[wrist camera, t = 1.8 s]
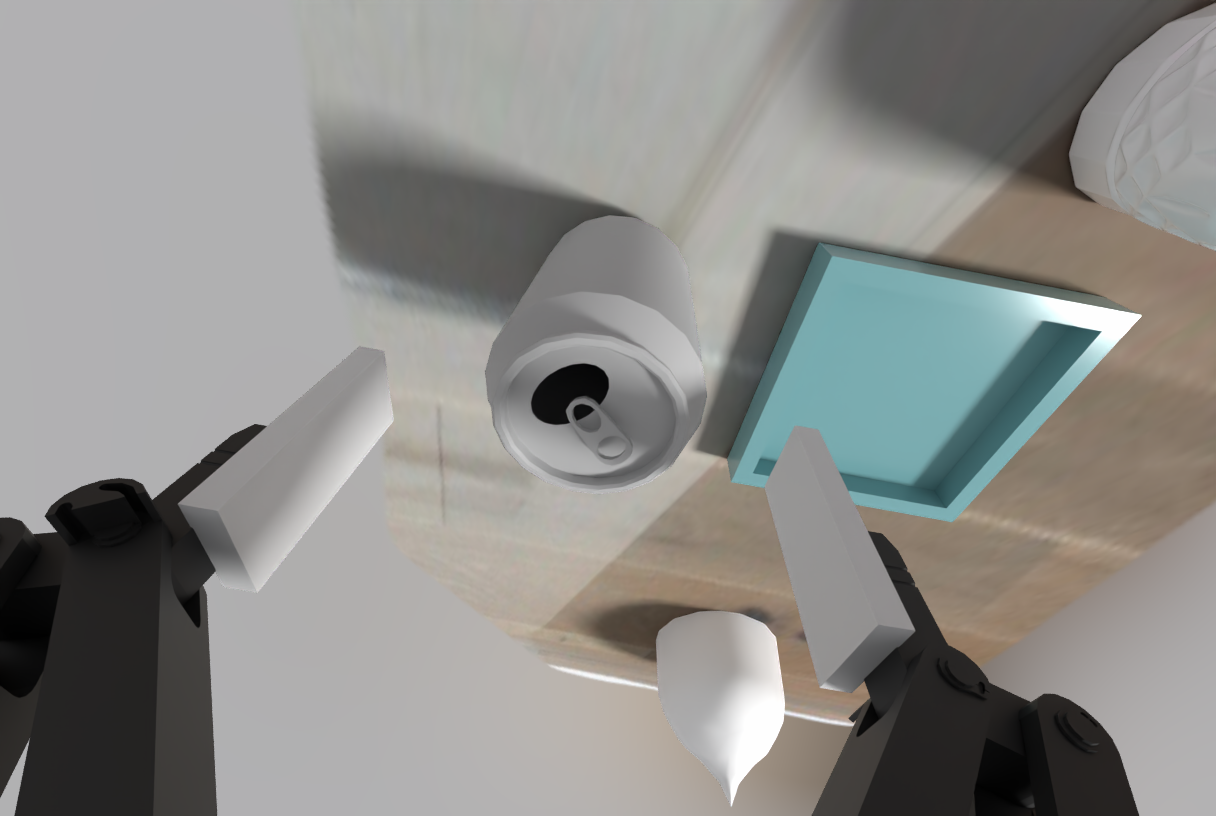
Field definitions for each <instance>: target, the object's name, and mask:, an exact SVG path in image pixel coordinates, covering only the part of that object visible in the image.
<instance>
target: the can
mask: <svg viewBox="0 0 1216 816" xmlns="http://www.w3.org/2000/svg"><path fill="white" fill-rule="evenodd" d="M485 375H486V385H487V395H488V401H489V403H490V405H491V408H492V418H493V426H494V428H495V430H496V432H497V434H498V436H499V438H500V440H501V442H502V444H503V446H504V448H505V449H506V450H507V451H508V452H509V454H510V455H511V456H512V457H513V458H514V459H515V460H516V461H517V462H518V463H519V464H520V465H521V466H522V467H523V468H524V469H526V470H527V471H529V472H530V473H532V474H534V475H535V476H537V477H538V478H540V479H541V480H543V481H545V482H547V483H550V484H553V485H556V486H558V487H561V488H564V489H567V490H570V491H575V492H584V493H593V494H605V493H614V492H624V491H628V490H631V489H633V488H636V487H639V486H641V485H644V484H647V483H649V482H651V481H653V480H654V479H655V478H657V477H658V476H659V475H661V474H662V473H663V472H665V471H666V470H667V469H669V468H670V467H671V466H672V465H673V463H674V462H675V460H676V459H677V457H678V456H679V454H680V453H681V451H682V450H683V448H684V447H685V446H686V444H687V443H688V441H689V440H690V438H691V437H692V435H693V434H694V432H695V431H696V430H697V428H698V427H699V425H700V424H701V419H702V415H703V411H704V407H705V402H706V398H707V391H706V384H705V378H704V371H703V365H702V358H701V351H700V345H699V338H698V332H697V325H696V319H695V312H694V305H693V299H692V292H691V286H690V279H689V272H688V267H687V265H686V263H685V261H684V259H683V257H682V255H681V253H680V251H679V249H678V247H677V246H676V245H675V244H674V243H673V242H672V241H671V240H670V239H669V238H668V237H667V236H666V235H665V234H664V233H663V232H662V231H661V230H660V229H659V228H657V227H654V226H652V225H650V224H648V223H646V222H643V221H641V220H639V219H637V218H634V217H623V216H613V215H608V216H604V217H600V218H596V219H592V220H588V221H584V222H583V223H581V224H580V225H578V226H577V227H575V228H574V229H572V230H571V231H569V232H568V233H566V234H564V236H563V237H562V238H561V240H560V241H559V242H558V244H557V245H556V246H555V248H554V249H553V250H552V251H551V253H550V254H549V256H548V257H547V259H546V261H545V262H544V264H543V265H542V267H541V268H540V270H539V272H538V273H537V275H536V276H535V278H534V279H533V281H532V283H531V284H530V286H529V287H528V289H527V290H526V292H525V294H524V295H523V297H522V298H521V300H520V301H519V303H518V305H517V306H516V308H515V309H514V311H513V312H512V314H511V316H510V317H509V319H508V320H507V322H506V323H505V325H504V327H503V328H502V330H501V331H500V333H499V334H498V336H497V338H496V339H495V341H494V342H493V345H492V349H491V352H490V356H489V359H488V363H487V366H486V370H485Z"/></svg>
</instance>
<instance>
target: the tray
mask: <svg viewBox="0 0 1216 816" xmlns="http://www.w3.org/2000/svg"><path fill="white" fill-rule="evenodd" d="M1141 316H1142V315H1140V314H1138V313H1136V312H1134V311H1132V310H1130V309H1128V308H1126V307H1124V306H1122V305H1120V304H1118V303H1116V302H1113V301H1111V300H1109V299H1107V298H1105V297H1101V296H1096V295H1091V294H1086V293H1080V292H1075V291H1070V290H1065V289H1059V288H1054V287H1049V286H1044V285H1039V284H1033V283H1028V282H1023V281H1018V280H1013V279H1007V278H1002V277H997V276H992V275H986V274H981V273H976V272H971V271H966V270H960V269H955V268H950V267H945V266H940V265H934V264H929V263H924V262H919V261H913V260H908V259H903V258H898V257H893V256H887V255H882V254H877V253H872V252H867V251H861V250H856V249H851V248H846V247H840V246H835V245H830V244H825V243H820V242H819V243H818V245H817V247H816V250H815V252H814V255H813V257H812V259H811V262H810V264H809V266H808V269H807V271H806V274H805V276H804V278H803V281H802V283H801V285H800V288H799V290H798V292H797V295H796V297H795V300H794V302H793V304H792V307H791V309H790V311H789V314H788V316H787V319H786V321H785V323H784V326H783V328H782V330H781V333H780V335H779V337H778V340H777V342H776V345H775V347H774V349H773V352H772V354H771V356H770V359H769V361H768V364H767V366H766V368H765V371H764V373H763V375H762V378H761V380H760V383H759V385H758V387H757V390H756V392H755V394H754V397H753V399H752V401H751V404H750V406H749V409H748V411H747V413H746V416H745V418H744V420H743V423H742V425H741V428H740V430H739V432H738V435H737V437H736V439H735V442H734V444H733V446H732V449H731V451H730V454H729V456H728V458H727V461H728V467H729V472H730V478H731V482H734V483H740V484H745V485H751V486H756V487H762V488H765V487H764V486H765V484H766V482H767V480H768V478H769V476H770V474H771V472H772V470H773V468H774V466H775V464H776V462H777V460H778V458H779V456H780V454H781V452H782V450H783V448H784V446H785V444H786V442H787V440H788V438H789V436H790V434H791V432H792V430H793V428H794V426H795V425H796V426H802V427H807V428H813V429H818V430H819V432H820V434H821V436H822V438H823V440H824V442H825V444H826V446H827V448H828V450H829V452H830V454H831V456H832V459H833V461H834V463H835V465H836V467H837V469H838V471H839V473H840V475H841V477H842V479H843V481H844V483H845V486H846V488H847V490H848V492H849V494H850V496H851V498H852V500H853V502H854V504H856V505H861V506H867V507H872V508H878V509H883V510H889V511H894V512H900V513H905V514H911V515H916V516H922V517H927V518H933V519H938V520H944V521H949V522H953V521H954V520H955V519H956V518H957V517H958V516H959V515H960V514H961V512H962V511H963V510H964V509H965V508H966V507H967V506H968V505H969V504H970V503H971V502H972V500H973V499H974V498H975V497H976V496H977V495H978V494H979V493H980V492H981V491H982V490H983V488H984V487H985V486H986V485H987V484H988V483H989V482H990V481H991V480H992V479H993V478H994V476H995V475H996V474H997V473H998V472H999V471H1000V470H1001V469H1002V468H1003V467H1004V465H1005V464H1006V463H1007V462H1008V461H1009V460H1010V459H1011V458H1012V457H1013V456H1014V455H1015V453H1016V452H1017V451H1018V450H1019V449H1020V448H1021V447H1022V446H1023V445H1024V444H1025V443H1026V441H1027V440H1028V439H1029V438H1030V437H1031V436H1032V435H1033V434H1034V433H1035V432H1036V431H1037V429H1038V428H1039V427H1040V426H1041V425H1042V424H1043V423H1044V422H1045V421H1046V420H1047V419H1048V417H1049V416H1050V415H1051V414H1052V413H1053V412H1054V411H1055V410H1056V409H1057V408H1058V407H1059V405H1060V404H1061V403H1062V402H1063V401H1064V400H1065V399H1066V398H1067V397H1068V396H1069V394H1070V393H1071V392H1072V391H1073V390H1074V389H1075V388H1076V387H1077V386H1078V385H1079V384H1080V382H1081V381H1082V380H1083V379H1084V378H1085V377H1086V376H1087V375H1088V374H1089V373H1090V372H1091V370H1092V369H1093V368H1094V367H1095V366H1096V365H1097V364H1098V363H1099V362H1100V361H1101V360H1102V358H1103V357H1104V356H1105V355H1106V354H1107V353H1108V352H1109V351H1110V350H1111V349H1112V348H1113V346H1114V345H1115V344H1116V343H1117V342H1118V341H1119V340H1120V339H1121V338H1122V337H1123V335H1124V334H1125V333H1126V332H1127V331H1128V330H1129V329H1130V328H1131V327H1132V326H1133V325H1134V323H1135V322H1136V321H1137V320H1138V319H1139V318H1140V317H1141Z"/></svg>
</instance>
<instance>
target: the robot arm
mask: <svg viewBox="0 0 1216 816" xmlns="http://www.w3.org/2000/svg"><path fill="white" fill-rule="evenodd" d="M393 421H394V419H393V412H392V405H391V397H390V390H389V383H388V376H387V369H386V361H385V354H384V351H382V350H377V349H371V348H366V347H360V346H359V347H358V348H357V349H356V350H355V351H354V352H352V353H351V354H350V355H349V356H348V357H347V358H346V359H344V360H343V361H342V362H341V363H340V364H339V365H337V366H336V367H335V368H334V369H333V370H332V371H331V372H329V373H328V374H327V375H326V376H325V377H324V378H322V379H321V380H320V381H319V382H318V383H317V384H316V385H314V386H313V387H312V388H311V389H310V390H309V391H307V392H306V393H305V394H304V395H303V396H302V397H300V398H299V399H298V400H297V401H296V402H295V403H294V404H293V405H291V406H290V407H289V408H288V409H287V410H285V411H284V412H283V413H282V414H281V415H280V416H279V417H278V418H276V419H275V420H274V421H273V422H272V423H270V425H268V426H264V425H258V424H254V425H252V426H250V427H248V428H246V429H244V430H242V431H239V432H237V433H235V434H233V435H231V436H230V437H229V438H228V439H227V440H225V441H224V442H223V443H222V444H221V445H219V446H218V447H217V448H216V449H215V451H214V452H211V453H210V454H208V455H207V456H206V457H204V458H203V459H202V460H201V463H200V464H199V463H197V464H196V465H195V466H193V467H192V468H191V469H190V470H189V471H187V472H186V473H185V474H184V475H182V476H181V477H180V478H179V479H177V480H176V481H175V482H174V483H173V484H171V485H170V486H169V487H168V488H166V489H165V490H164V491H163V492H162V493H160V494H159V495H158V496H157V497H155V498H154V499H153V500H152V499H151V498H150V496H149V494H148V493H147V491H146V489H145V488H144V486H143V484H141V483H139V482H137V481H135V480H133V479H122V478H116V479H110V480H102V481H98V482H95V483H92V484H88V485H85V486H82V487H80V488H78V489H76V490H74V491H72V492H70V493H68V494H66V495H64V496H63V497H62V498H60V499H59V500H58V501H56V502H55V503H54V504H53V505H52V506H51V507H50V508H49V510H48V512H47V513H46V515H45V517H46V519H47V520H48V521H49V522H50V524H51V525H52V526H53V527H54V528H55V530H56V531H57V532H54V533H42V534H32V533H31V531H30V530H29V529H28V528H27V527H26V526H25V524H24V523H23V522H22V521H20V520H17V519H13V518H10V517H9V518H0V797H1V795H2V793H3V791H4V789H5V787H6V785H7V783H8V781H9V779H10V777H11V775H12V773H13V771H14V769H15V767H16V765H17V763H18V761H19V759H20V757H21V755H22V753H23V751H24V749H25V747H26V744H27V743H28V741H29V739H30V741H29V746H28V751H27V756H26V761H25V766H24V771H23V776H22V781H21V786H20V791H19V796H18V801H17V806H16V811H15V816H217V803H216V781H215V760H214V739H213V718H212V697H211V675H210V654H209V635H208V634H209V633H208V612H207V594H206V591H205V589H204V587H203V584H204V583H205V582H206V581H207V580H208V579H209V578H210V577H211V576H212V574H213V573H214V572H216V574H217V576H218V578H219V580H220V581H221V583H222V585H223V587H226V588H232V589H238V590H244V591H250V592H255V593H257V592H258V591H259V590H260V589H261V588H262V586H263V585H264V584H265V583H266V581H267V580H268V579H269V578H270V576H271V575H272V574H273V573H274V571H275V570H276V569H277V568H278V566H279V565H280V564H281V562H282V561H283V560H284V559H285V557H286V556H287V555H288V553H289V552H290V551H291V550H292V548H293V547H294V546H295V545H296V543H297V542H298V541H299V540H300V538H301V537H302V536H303V535H304V533H305V532H306V531H307V530H308V528H309V527H310V526H311V525H312V523H313V522H314V521H315V519H316V518H317V517H318V515H319V514H320V513H321V512H322V511H323V509H324V508H325V507H326V506H327V504H328V503H329V502H330V501H331V499H332V498H333V497H334V495H335V494H336V493H337V492H338V490H339V489H340V488H341V487H342V485H343V484H344V483H345V482H346V480H347V479H348V478H349V477H350V475H351V474H352V472H353V471H354V470H355V469H356V468H357V466H358V465H359V464H360V463H361V461H362V460H363V459H364V458H365V456H366V455H367V454H368V453H369V451H370V450H371V449H372V447H373V446H374V445H375V444H376V442H377V441H378V440H379V439H380V437H381V436H382V435H383V434H384V432H385V431H386V430H387V429H388V427H389V426H390V425H391V423H392V422H393ZM764 487H765V491H766V494H767V498H768V502H769V505H770V509H771V512H772V516H773V520H774V523H775V527H776V530H777V534H778V538H779V541H780V545H781V549H782V552H783V556H784V559H785V563H786V567H787V570H788V574H789V578H790V581H791V585H792V588H793V592H794V596H795V599H796V603H797V607H798V610H799V614H800V617H801V621H802V625H803V628H804V632H805V635H806V639H807V643H808V646H809V650H810V654H811V657H812V661H813V664H814V668H815V672H816V675H817V679H818V683H819V686H820V688H825V689H831V690H837V691H843V692H849V693H852V692H853V691H854V690H855V689H856V688H857V687H858V686H860V685H861V684H862V683H863V682H864V681H865V684H866V686H867V689H868V692H869V695H870V699H868V700H867V701H866V702H865V703H864V704H863V705H862V706H861V707H860V708H859V709H858V710H856V711H855V712H854V713H853V714H852V715H851V716H850V717H849V718H848V719H849V720H851V721H852V722H854V721H855V720H856V722H855V724H854V727H853V729H852V731H851V733H850V735H849V737H848V739H847V741H846V744H845V746H844V748H843V750H842V752H841V755H840V757H839V758H838V761H837V763H836V765H835V767H834V769H833V771H832V773H831V776H830V778H829V780H828V782H827V784H826V786H825V788H824V790H823V793H822V795H821V797H820V799H819V801H818V803H817V805H816V808H815V810H814V812H813V814H812V816H1139V813H1138V811H1137V807H1136V804H1135V801H1134V798H1133V794H1132V791H1131V788H1130V786H1129V782H1128V779H1127V776H1126V772H1125V769H1124V767H1123V763H1122V760H1121V757H1120V754H1119V752H1118V750H1117V748H1116V746H1115V744H1114V742H1113V740H1112V738H1111V737H1110V736H1109V734H1108V733H1107V732H1106V731H1105V729H1104V728H1103V727H1102V726H1101V725H1100V723H1099V722H1098V721H1097V720H1095V719H1094V718H1093V717H1092V716H1091V715H1090V714H1089V713H1088V712H1087V711H1085V710H1084V709H1083V708H1081V707H1080V706H1078V705H1077V704H1075V703H1074V702H1072V701H1070V700H1069V699H1066V698H1064V697H1061V696H1059V695H1056V694H1043V695H1042V696H1040V697H1038V698H1037V699H1035V700H1034V701H1032V702H1029V701H1027V700H1025V699H1023V698H1021V697H1018V696H1016V695H1014V694H1012V693H1010V692H1008V691H1006V690H1004V689H1001V688H999V687H997V686H995V685H993V684H991V683H989V681H988V679H987V677H986V676H985V675H984V673H983V672H982V671H981V669H980V668H979V667H978V666H977V665H976V664H975V663H974V662H973V661H972V660H971V659H969V658H968V657H967V656H966V655H965V654H964V653H962V652H960V651H958V650H956V649H955V648H953V647H951V646H948V644H947V643H946V641H945V639H944V637H943V635H942V633H941V631H940V629H939V628H938V626H937V624H936V622H935V620H934V618H933V616H932V614H931V612H930V610H929V609H928V607H927V605H926V603H925V601H924V599H923V597H922V595H921V593H920V592H919V590H918V588H917V587H915V582H914V580H913V578H912V576H911V574H910V573H909V572H907V567H906V565H905V563H904V561H903V559H902V557H901V556H900V554H899V552H898V550H897V549H896V548H895V547H894V546H893V545H892V544H891V543H890V542H889V541H888V539H887V538H886V537H885V536H884V535H883V534H881V533H876V532H870V531H867V529H866V527H865V525H864V523H863V521H862V519H861V517H860V515H859V512H858V510H857V508H856V506H855V504H854V502H853V500H852V498H851V496H850V494H849V492H848V490H847V488H846V486H845V483H844V481H843V479H842V477H841V475H840V473H839V471H838V469H837V467H836V465H835V463H834V461H833V459H832V456H831V454H830V452H829V450H828V448H827V446H826V444H825V442H824V440H823V438H822V436H821V434H820V432H819V430H818V429H813V428H807V427H802V426H796V425H795V426H794V428H793V430H792V432H791V434H790V436H789V438H788V440H787V442H786V444H785V446H784V448H783V450H782V452H781V454H780V456H779V458H778V460H777V462H776V464H775V466H774V468H773V470H772V472H771V474H770V476H769V478H768V480H767V482H766V484H765V486H764Z"/></svg>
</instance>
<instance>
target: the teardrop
mask: <svg viewBox="0 0 1216 816" xmlns="http://www.w3.org/2000/svg"><path fill="white" fill-rule="evenodd" d="M656 653H657V675H658V695H659V698H660V702H661V705H662V708H663V712H664V714H665V716H666V718H667V721H668V722H669V724H670V726H671V727H672V729H673V731H674V733H675V734H676V736H677V738H678V739H679V741H680V742H681V743H682V744H683V745H684V747H685V748H686V749H687V750H689V751H690V752H691V753H692V754H693V755H694V756H695V757H696V758H698V759H699V760H700V761H701V762H702V763H703V764H704V766H705V767H706V768H707V769H708V770H709V771H710V772H711V774H712V775H713V776H714V777H715V778H716V779H717V780H718V782H719V783H720V785H721V787H722V789H723V791H724V793H725V795H726V798H727V800H728V802H729V804H730V805H731V806H732V803H733V800H734V797H735V793H736V791H737V788H738V785H739V783H740V782H741V780H742V779H743V778H744V777H745V776H746V774H747V773H748V772H749V771H750V769H751V768H752V767H753V766H754V765H755V764H756V763H757V762H758V761H760V760H761V759H762V758H763V757H764V756H766V755H767V753H768V751H769V750H770V748H771V746H772V744H773V743H774V741H775V739H776V737H777V735H778V733H779V730H780V728H781V726H782V723H783V719H784V706H785V701H784V692H783V685H782V678H781V671H780V664H779V656H778V649H777V642H776V637H775V636H774V635H773V633H772V632H771V631H770V630H769V629H768V628H767V627H766V625H765V624H764V623H762V622H759V621H757V620H754V619H752V618H750V617H747V616H745V615H742V614H739V613H732V612H725V611H699V612H696V613H692V614H689V615H685V616H682V617H678V618H674V619H673V620H672V621H670V622H669V623H668V624H667V625H665V626H664V627H663V628H662V629H660V630H659V632H658V635H657V639H656Z"/></svg>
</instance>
